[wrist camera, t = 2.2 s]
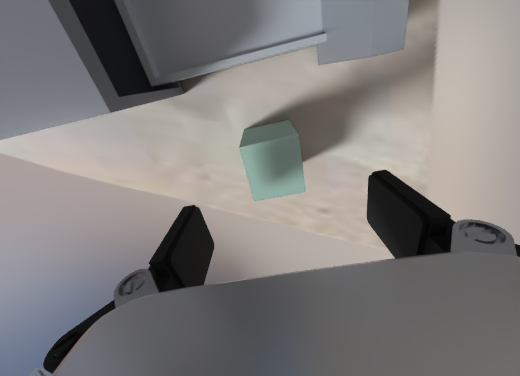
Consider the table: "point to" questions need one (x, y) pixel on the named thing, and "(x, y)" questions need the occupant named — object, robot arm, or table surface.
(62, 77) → the grey box
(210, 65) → the drawer
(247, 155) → the block
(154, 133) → the table surface
